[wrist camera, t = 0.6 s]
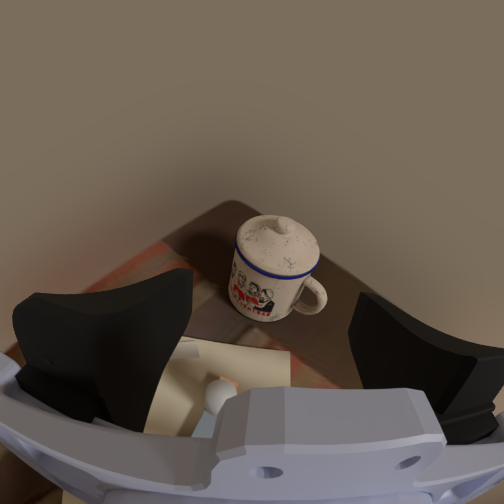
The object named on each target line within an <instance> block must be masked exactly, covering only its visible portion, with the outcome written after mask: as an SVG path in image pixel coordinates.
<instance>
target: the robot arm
mask: <svg viewBox="0 0 504 504" xmlns="http://www.w3.org/2000/svg"><path fill="white" fill-rule="evenodd" d="M192 293H193V270H192V269H185V268H176V269H173V270H170V271H167V272H165V273H162V274H160V275H157V276H155V277H152V278H150V279H147V280H144V281H141V282H138V283H135V284H132V285H129V286H126V287H122V288H118V289H113V290H108V291H102V292H94V293H87V294H67V295H66V294H46V293H37V292H36V293H34V294H32V295H31V296H29V297H28V298H27V299H25V300H24V301H22V302H21V303H20V304H18V305H17V306H16V307H15V309H14V310H13V315H12V319H13V328H14V331H15V335H16V337H17V340H18V343H19V345H20V348H21V350H22V353H23V355H24V358H25V360H26V362H27V364H26V365H25V366H24V367H23V368H21V367H20V366H19V364H18V363H17V362H15V361H14V360H13V359H11V358H10V357H8V356H7V355H5V354H4V353H2V352H1V351H0V442H1V443H2V444H3V445H4V446H5V447H7V448H8V449H9V450H10V451H11V452H13V453H14V454H15V455H16V456H17V457H19V458H20V459H21V460H22V461H24V462H25V463H26V464H28V465H29V466H30V467H32V468H33V469H34V470H36V471H37V472H38V473H40V474H41V475H42V476H44V477H45V478H47V479H48V480H50V481H51V482H53V483H54V484H56V485H57V486H59V487H60V488H62V489H63V490H65V491H67V492H68V493H70V494H72V495H73V496H75V497H77V498H78V499H80V500H82V501H84V502H86V503H87V504H465V503H466V502H468V501H470V500H472V499H474V498H476V497H477V496H479V495H481V494H482V493H484V492H486V491H488V490H489V489H491V488H493V487H494V486H496V485H497V484H499V483H500V482H501V481H502V480H504V412H501V413H500V414H498V415H497V416H496V417H494V415H493V413H492V411H494V409H495V405H494V403H493V402H492V401H493V400H494V398H495V397H496V395H497V394H498V393H499V391H500V390H501V388H502V387H503V385H504V348H498V347H491V346H485V345H480V344H476V343H472V342H468V341H465V340H462V339H458V338H456V337H453V336H450V335H448V334H445V333H443V332H441V331H438V330H436V329H434V328H432V327H430V326H428V325H426V324H424V323H422V322H421V321H419V320H417V319H416V318H414V317H412V316H410V315H409V314H407V313H406V312H404V311H402V310H401V309H399V308H398V307H396V306H395V305H393V304H392V303H390V302H388V301H387V300H385V299H383V298H382V297H380V296H378V295H376V294H373V293H365V292H360V295H359V298H358V302H357V305H356V308H355V311H354V314H353V317H352V320H351V323H350V326H349V329H348V335H349V342H350V347H351V351H352V354H353V357H354V360H355V363H356V366H357V369H358V372H359V375H360V379H361V382H362V385H363V388H364V390H344V389H314V388H298V387H285V386H281V387H266V388H252V389H249V390H247V391H245V392H242V393H240V394H238V395H235V396H233V397H231V398H228V399H226V401H225V402H224V404H223V406H222V408H221V409H220V411H219V413H218V414H217V418H216V422H215V427H214V431H213V436H212V438H199V437H179V436H166V435H156V434H147V433H143V432H144V428H145V424H146V421H147V417H148V414H149V411H150V407H151V404H152V401H153V398H154V395H155V392H156V390H157V387H158V384H159V381H160V379H161V376H162V373H163V371H164V369H165V367H166V365H167V363H168V361H169V359H170V357H171V355H172V354H173V352H174V350H175V348H176V346H177V344H178V343H179V341H180V339H181V337H182V335H183V333H184V331H185V329H186V327H187V324H188V322H189V319H190V316H191V313H192Z"/></svg>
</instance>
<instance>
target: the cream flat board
mask: <svg viewBox="0 0 504 504" xmlns="http://www.w3.org/2000/svg"><path fill="white" fill-rule="evenodd" d="M221 376H222V377H224V378H227V379H229V380H231V381H234V382H236V383H238V387H237V389H236V391H237V395H238V394H240V393H242V392H245V391H247V390H249V389H252V388H266V387H281V386H285V387H290V352H288V351H278V350H269V349H260V348H252V347H244V346H237V345H230V344H224V343H217V342H211V341H205V340H199V339H194V338H189V337H183V336H182V337H181V339H180V341H179V343H178V344H177V346H176V348H175V350H174V352H173V354H172V355H171V357H170V359H169V361H168V363H167V365H166V367H165V369H164V371H163V373H162V376H161V379H160V381H159V384H158V387H157V390H156V392H155V395H154V398H153V401H152V404H151V407H150V411H149V414H148V417H147V421H146V424H145V428H144V432H143V433H147V434H156V435H166V436H179V437H191V436H192V434H193V432H194V430H195V428H196V427H197V425H198V423H199V421H200V419H201V417H202V415H203V413H204V411H205V409H204V403H205V392H206V388H207V386H208V385H209V384H210V383H211V382H212V381H215V380H219V379H220V377H221ZM62 504H87V503H86V502H84V501H82V500H80V499H78V498H77V497H75V496H73V495H72V494H70V493H68V492H67V491H65V490H63V497H62Z"/></svg>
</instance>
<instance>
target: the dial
mask: <svg viewBox="0 0 504 504" xmlns="http://www.w3.org/2000/svg"><path fill="white" fill-rule="evenodd" d="M237 387H238V383H236V382H234V381H231V380H229V379H227V378H224V377H222V376H221V377H220V379H219V380H215V381H212V382H211V383H210V384H209V385H208V386H207V388H206V392H205V403H204V409H205V411H204V413H203V415H202V417H201V419H200V421H199V423H198V425H197V427H196V428H195V430H194V432H193V434H192V436H191V437H199V438H212V436H213V431H214V427H215V422H216V418H217V414H218V413H219V411H220V409H221V408H222V406H223V404H224V402H225V401H226V399H228V398H231V397H233V396H235V395H237V391H236V389H237Z"/></svg>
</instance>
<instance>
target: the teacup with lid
mask: <svg viewBox="0 0 504 504" xmlns="http://www.w3.org/2000/svg"><path fill="white" fill-rule="evenodd" d="M235 247H236V249H235V254H234V259H233V265H232V270H231V276H230V281H229V287H228V292H229V297H230V300H231V302H232V303H233V305H234V306H235V308H236V309H237V310H238V311H239V312H241V313H242V314H243V315H245V316H247V317H249V318H251V319H253V320H257V321H263V322H270V321H276V320H279V319H281V318H283V317H285V316H287V315H288V314H289V313H290V312H291V311H292V309H293V308H294V309H295V310H297V311H298V312H300V313H302V314H306V315H313V314H316V313H318V312H319V311H321V310H322V309H323V307H324V306H325V305H326V302H327V294H326V292H325V290H324V288H323V287H322V285H321V284H320V283H319V282H318V281H316V280H315V279H314V278H312V277H311V276H310V274H311V272H312V271H313V270H314V269H315V268H316V266H317V264H318V262H319V247H318V244H317V241H316V239H315V238H314V236H313V235H312V234H311V233H310V232H309V231H308V230H307V229H306V228H305V227H303V226H302V225H301V224H299V223H297V222H295V221H293V220H291V219H290V218H288V217H281V216H275V215H262V216H257V217H254V218H251V219H249V220H248V221H246V222H245V223H244V224H243V225H242V226H241V227H240V228H239V230H238V231H237V233H236V236H235ZM304 286H306V287H308V288H309V289H310V290H311V291H312V292H313V293H314V294H315V295H316V297H317V300H318V304H317V305H315V306H309V305H306V304H304V303H303V302H301V301H300V300H298V298H299V296H300V294H301V292H302V290H303V288H304Z"/></svg>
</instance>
